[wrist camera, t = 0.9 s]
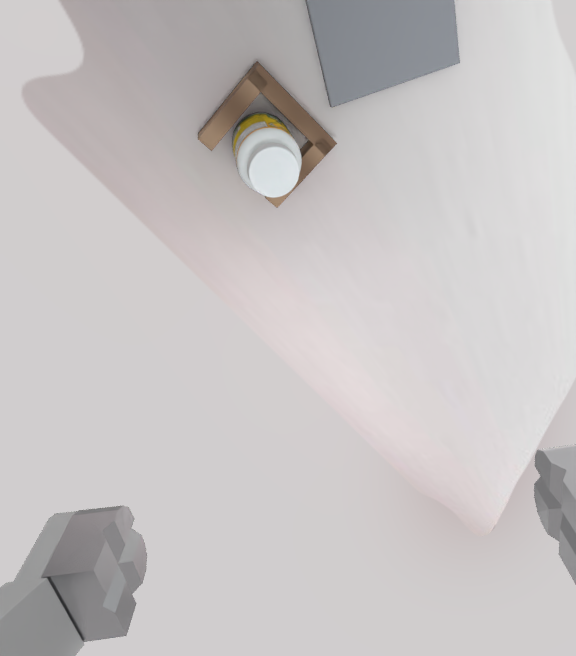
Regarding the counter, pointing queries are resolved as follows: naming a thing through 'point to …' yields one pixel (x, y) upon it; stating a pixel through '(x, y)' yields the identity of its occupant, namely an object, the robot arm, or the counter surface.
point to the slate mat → (381, 43)
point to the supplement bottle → (266, 155)
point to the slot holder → (280, 98)
